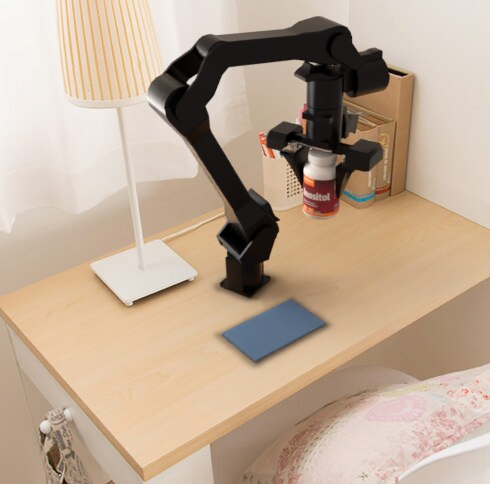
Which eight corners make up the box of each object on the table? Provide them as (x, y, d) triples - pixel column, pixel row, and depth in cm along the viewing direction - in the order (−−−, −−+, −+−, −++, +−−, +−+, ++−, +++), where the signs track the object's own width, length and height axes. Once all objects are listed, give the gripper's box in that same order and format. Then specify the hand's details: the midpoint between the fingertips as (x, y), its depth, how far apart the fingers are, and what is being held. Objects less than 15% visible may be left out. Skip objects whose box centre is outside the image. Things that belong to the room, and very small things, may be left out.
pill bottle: (296, 216, 126) (297, 156, 120) (311, 201, 130) (312, 141, 124) (331, 224, 123) (333, 162, 117) (344, 207, 128) (347, 147, 122)
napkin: (255, 362, 110) (255, 360, 109) (221, 335, 115) (221, 333, 115) (325, 324, 117) (325, 322, 116) (291, 300, 122) (291, 298, 122)
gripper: (401, 97, 117) (393, 186, 126) (298, 77, 126) (297, 162, 135) (370, 121, 110) (364, 214, 119) (263, 98, 118) (264, 187, 127)
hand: (322, 192), depth 125 cm, fingers closed on pill bottle, 6 cm apart
